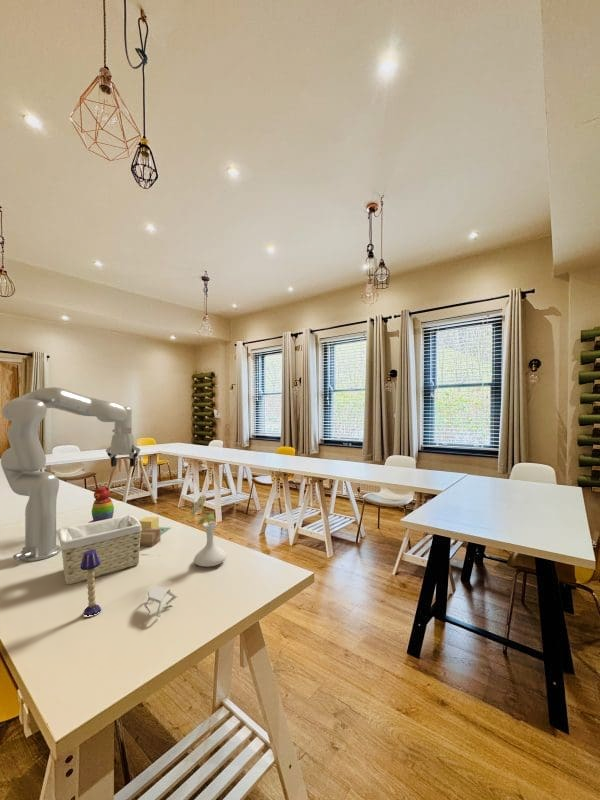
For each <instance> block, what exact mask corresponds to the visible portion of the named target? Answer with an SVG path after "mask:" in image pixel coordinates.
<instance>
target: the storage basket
mask: <svg viewBox="0 0 600 800" xmlns="http://www.w3.org/2000/svg"><path fill="white" fill-rule="evenodd" d="M139 521H140V520H138V519H137V518H136V517H135V516H133V515H132V514H126V515H122V516H117V517H112V518H110V519H106V520H101V521H96V522H91V523H88V522H86V523H81V524H75V525H70V526H65V527H61V528H60V529H58V540H59V544H60V545H59V546H61V551H60V552H61V557H62V562H63V563H62V564H63V570H62V572H63V575H64V580H65V583H66V585H72V584H78V583H80V582H83V581H87V580H88V578H87V574H88V572H87V570H82V569H81V568H80V567H81V562H82V558H83V555H84V553H85V552H86V551H88V550H96V551H97V553H98V556H99V559H100V565H99V566H98V567H96V568H94V579H95V578H98V577H101V576H103V575H104V576H105V575H107V574H110V573H115V572H117V571H121V570H123V569H127V568H130V567H133V566H136V565H139V563H140V550H141V549H140V547H141V546H140V537H141V530H142V528H141V524H140V522H139Z"/></svg>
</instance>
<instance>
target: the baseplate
mask: <svg viewBox="0 0 600 800" xmlns="http://www.w3.org/2000/svg"><path fill="white" fill-rule="evenodd" d="M159 529H160V537H161V536H162V535H164V534H165V533H167V532H168V531H169V530H171V529H172V527H164V526H163V527H159Z"/></svg>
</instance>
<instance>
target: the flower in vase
mask: <svg viewBox="0 0 600 800" xmlns="http://www.w3.org/2000/svg"><path fill="white" fill-rule="evenodd" d="M206 500H207V495H206V494H203V495H200V496H199V497H198V498H197V500H196V501H195V502H194V503H193V505H194V506H193V507H192V508H191V509H190V514H191V515H195V514H197V513H198V512H200V510H201V509H202V510H203V514H204V517H202V518H200V520H199V521H198V523H197V526H198V525H202V526H203V527H204V529H205V533H206V544H205V546H204V547H203V548H201V550H199V551H198V552H197V553H196V554H195V556H194V558H193V562H194V564H195V565H197V566H199V567H203V568H204V567H206V568H207V567H208V568H209V567H214V566H217V565H220V564H222V563H224V562H225V560H226V559H227V554H226V551H224V550H223V549H222V548H221V547H218V546H217V545H216V544H215V542H214V535H215V534H214V533H215V528H216V526H217V525H218V522H217V521H213V520H214V518H215V514H214V513H215V512H214V511H211V512H210V513H209V514H208V515H207V514H206V511H205V509H204V507H203V506H204V504H205V503H206ZM205 521H207V522H205Z"/></svg>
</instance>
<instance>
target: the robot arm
mask: <svg viewBox="0 0 600 800" xmlns="http://www.w3.org/2000/svg"><path fill="white" fill-rule="evenodd" d="M48 409H56V410H59V411H60V410H61V411H64V412H68V413H71V414H75V415H77V416H83V417H96V419H97V420H99V421H100V422H101V423H102V422H103V423H114V427H113V429H112V433H114V434H112V436H111V443H110V447H108V448H106V449H105V452H106V454H107V456H108V457H109V459H110V465H111V468H113V467H116V466H117V456H129V457H130V459H129V467H130V468H132V467H135V466H136V458H137V456H139V454H140V452H141V449H140V448H139V447H137V446H135V439H134V434H133V432H132V431H133V430H132V427H133V425H132V423H133V422H132V412H133V411H132V410H133V409H132V407H129V406H122V405H120V404H118V403H114V402H111V401H107V400H102V399H97V398H95V397H89V396H85V395H83V394H79V393H77V392H74V391H71V390H68V389H65V388H62V387H56V386H55V387H40V388H37V389H36V390H31V391H30V392H28V393H25V394H23V395H21V396H18V397H16V398H13V399H11V400H9V401H7V402H5V404H4V405H3V407H2V410H1V413H2V416H3V417H4V418H5V419H6V420H7V421H10V422H11V423H10V425H9V426H8V429H7V439H8V443H9V445H10V447H9V448H7V449H6V450H5V451H4V452H3V453H2V455H1V456H0V465H1V468H2V471H3V474H4V476H5V479H6V480H7V483H8V485H9V487H10V489H11V491H13V493H14V494H16V495H19V496H24V497H28V501H27V502H26V505H25V512H24V515H25V518H24V520H25V521H24V523H25V524H24V525H25V528H24V529H25V532H24V533H25V534H24V535H25V536H24V538H25V539H24V540H25V541H24V543H25V544H24V546H23V547H22V550H21V551H20V552H17V553H14V554H13V556H12V559H13V561H17V560H19V559H20V561H22V560H23V561H22V562H36V561H40V560H44V559H49V558H51V557H53V556H55V555H57V554H59V553H60V552H62V551H61V545H59V544H57V499H58V492H59V488H60V481H59V478H58V477H57V475H55V474H54V473H53V472H48V471H40V470H42V469H43V468H44V467H45V466H46V464H47V458H46V453H45V452H44V449H43V446H42V444H41V441H40V439H39V435H38V428H39V425H40V423H41V422H42V420H44V418H45V416H46V415H47V411H48ZM35 560H36V561H35Z"/></svg>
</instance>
